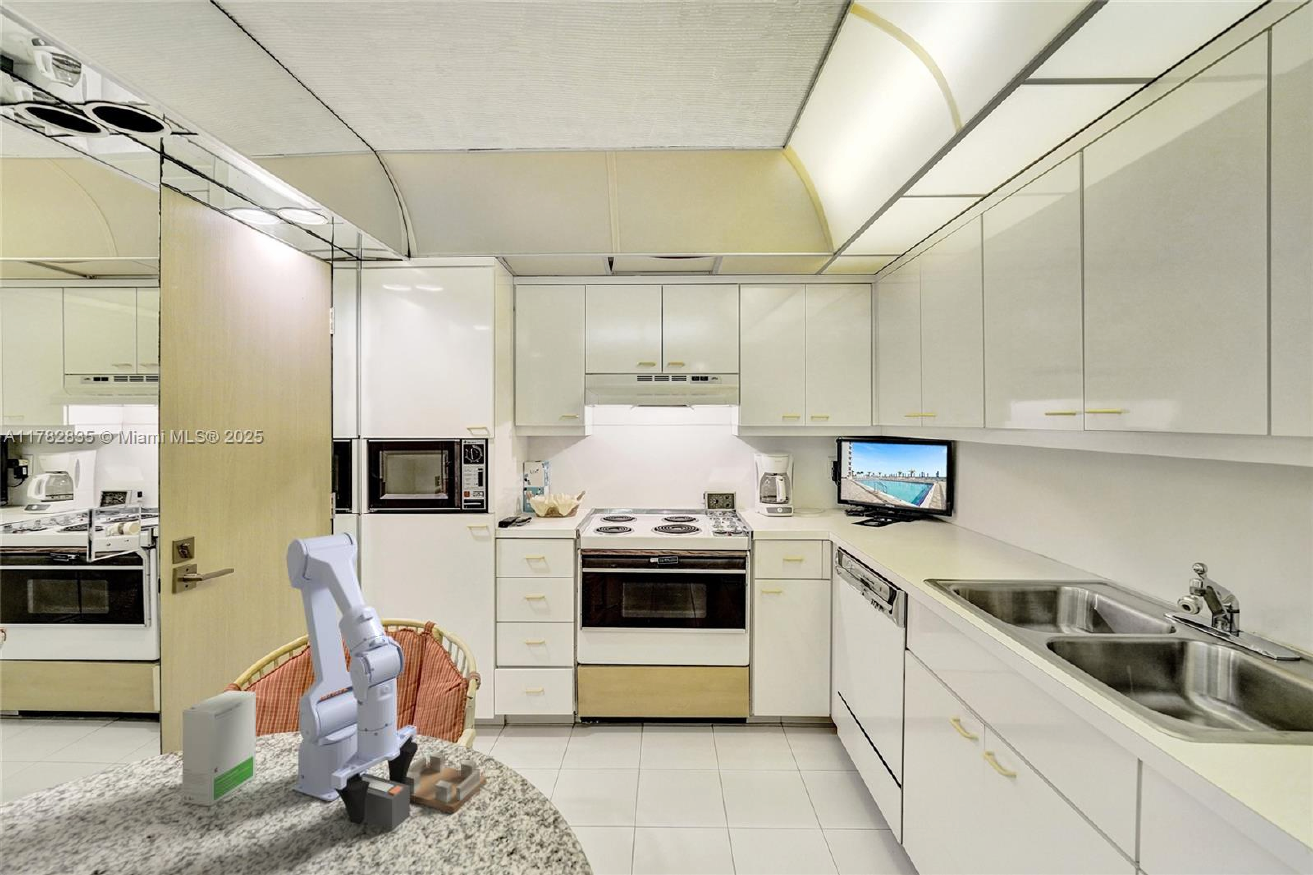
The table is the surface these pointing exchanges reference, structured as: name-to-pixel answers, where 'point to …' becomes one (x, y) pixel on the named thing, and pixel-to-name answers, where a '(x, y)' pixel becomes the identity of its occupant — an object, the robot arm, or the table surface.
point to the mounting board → (443, 783)
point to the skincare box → (218, 747)
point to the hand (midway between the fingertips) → (377, 805)
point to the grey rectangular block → (386, 802)
